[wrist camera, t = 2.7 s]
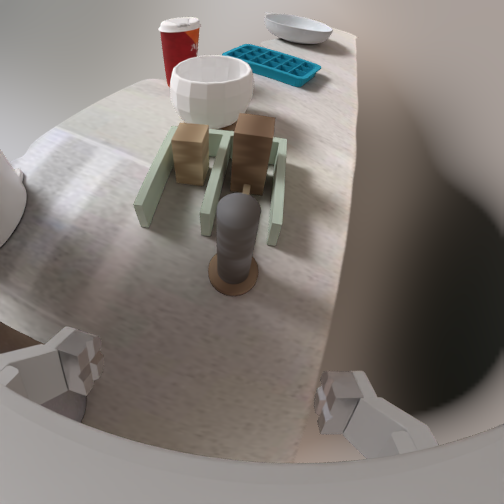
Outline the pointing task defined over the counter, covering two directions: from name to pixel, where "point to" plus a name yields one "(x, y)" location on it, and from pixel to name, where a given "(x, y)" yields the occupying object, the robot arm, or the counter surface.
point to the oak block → (191, 153)
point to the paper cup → (178, 41)
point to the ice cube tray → (275, 64)
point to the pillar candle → (65, 404)
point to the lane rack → (211, 181)
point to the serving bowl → (297, 28)
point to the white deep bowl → (211, 90)
